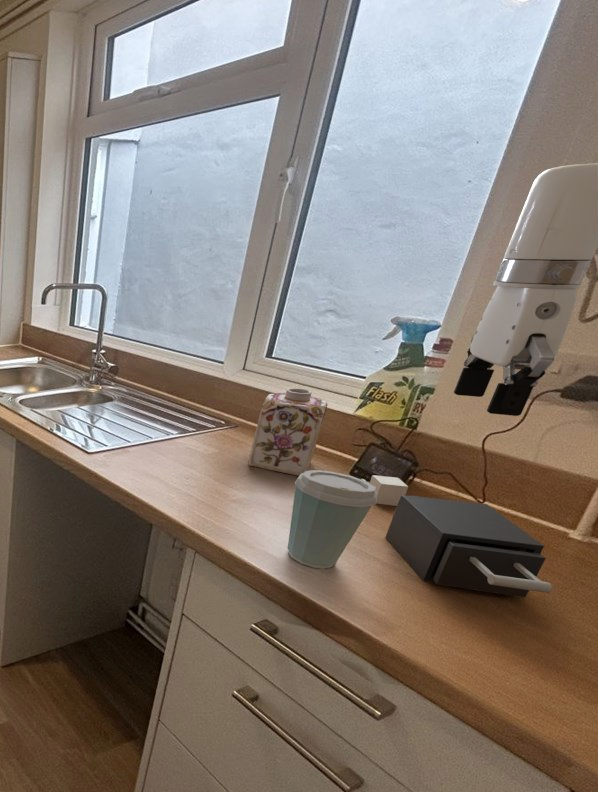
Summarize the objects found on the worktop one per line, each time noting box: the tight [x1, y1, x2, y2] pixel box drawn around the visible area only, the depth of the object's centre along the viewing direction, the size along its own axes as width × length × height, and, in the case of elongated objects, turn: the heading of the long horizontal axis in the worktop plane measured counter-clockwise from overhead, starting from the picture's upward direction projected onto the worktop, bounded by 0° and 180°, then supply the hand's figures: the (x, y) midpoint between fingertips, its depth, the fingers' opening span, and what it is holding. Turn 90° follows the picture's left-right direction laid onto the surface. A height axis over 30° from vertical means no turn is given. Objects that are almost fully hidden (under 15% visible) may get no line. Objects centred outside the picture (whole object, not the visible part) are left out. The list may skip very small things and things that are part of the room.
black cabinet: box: [385, 495, 545, 583], centre depth 84 cm, size 14×12×9 cm
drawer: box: [433, 538, 553, 598], centre depth 79 cm, size 19×10×7 cm, turn 161°
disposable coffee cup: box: [287, 469, 378, 570], centre depth 85 cm, size 11×11×15 cm
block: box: [369, 474, 409, 507], centre depth 106 cm, size 4×4×4 cm
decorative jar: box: [247, 387, 329, 477], centre depth 121 cm, size 12×12×18 cm
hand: (484, 404), depth 73 cm, fingers open, 9 cm apart
